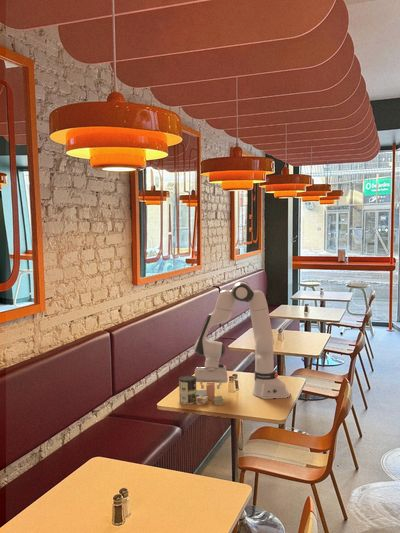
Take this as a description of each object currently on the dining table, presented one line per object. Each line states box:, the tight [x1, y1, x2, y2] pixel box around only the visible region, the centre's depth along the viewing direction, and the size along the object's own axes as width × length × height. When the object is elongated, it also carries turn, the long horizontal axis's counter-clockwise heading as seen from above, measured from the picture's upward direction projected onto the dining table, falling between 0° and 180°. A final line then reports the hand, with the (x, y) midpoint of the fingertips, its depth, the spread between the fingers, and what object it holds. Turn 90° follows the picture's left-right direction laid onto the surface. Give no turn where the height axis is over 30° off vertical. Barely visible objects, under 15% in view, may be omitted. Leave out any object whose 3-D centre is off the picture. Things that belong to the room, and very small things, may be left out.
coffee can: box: [178, 374, 197, 405], centre depth 290 cm, size 10×10×14 cm
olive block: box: [212, 395, 224, 406], centre depth 286 cm, size 5×5×4 cm
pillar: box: [205, 382, 216, 401], centre depth 293 cm, size 4×4×9 cm
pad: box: [196, 389, 206, 397], centre depth 302 cm, size 9×9×1 cm
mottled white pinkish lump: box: [196, 395, 209, 407], centre depth 286 cm, size 5×5×4 cm
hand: (210, 388), depth 294 cm, fingers open, 8 cm apart
